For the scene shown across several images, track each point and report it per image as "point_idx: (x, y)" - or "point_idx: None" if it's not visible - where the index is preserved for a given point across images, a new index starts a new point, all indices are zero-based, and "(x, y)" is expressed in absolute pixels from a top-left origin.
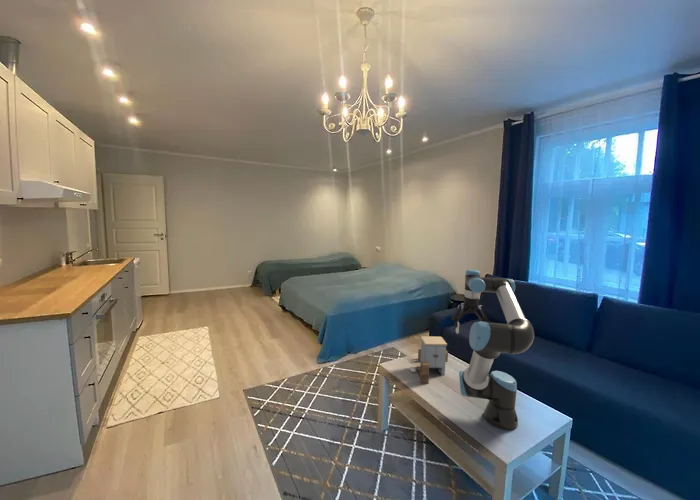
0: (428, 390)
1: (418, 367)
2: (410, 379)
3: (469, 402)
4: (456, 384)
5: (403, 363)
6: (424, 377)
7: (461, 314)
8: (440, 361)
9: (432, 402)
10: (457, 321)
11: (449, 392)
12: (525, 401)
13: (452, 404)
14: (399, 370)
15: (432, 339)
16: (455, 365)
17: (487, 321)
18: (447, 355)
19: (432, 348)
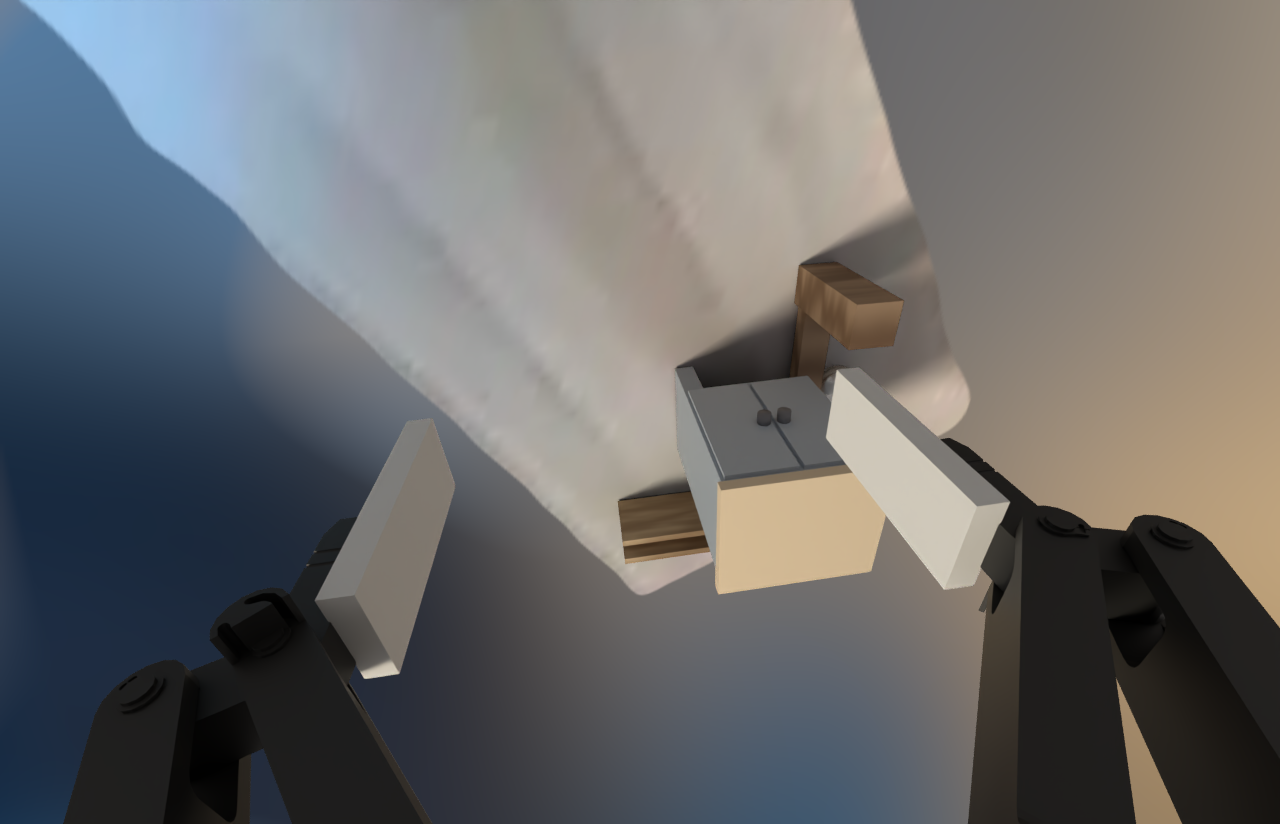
0: (823, 191)
1: None
2: None
3: (605, 69)
4: (631, 281)
5: None
6: (841, 273)
7: (1108, 783)
8: (726, 405)
9: (850, 44)
10: (1052, 524)
11: (702, 183)
12: (201, 123)
13: (728, 30)
14: (904, 381)
15: (807, 541)
16: (583, 474)
17: (148, 672)
18: (623, 525)
19: (822, 451)
